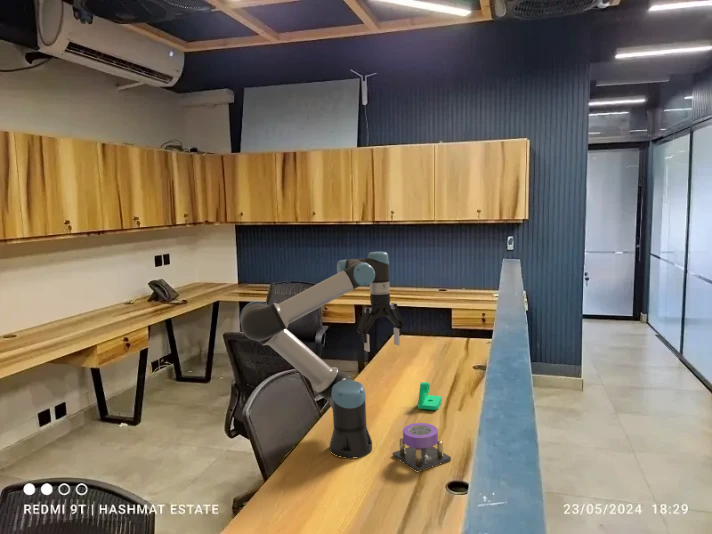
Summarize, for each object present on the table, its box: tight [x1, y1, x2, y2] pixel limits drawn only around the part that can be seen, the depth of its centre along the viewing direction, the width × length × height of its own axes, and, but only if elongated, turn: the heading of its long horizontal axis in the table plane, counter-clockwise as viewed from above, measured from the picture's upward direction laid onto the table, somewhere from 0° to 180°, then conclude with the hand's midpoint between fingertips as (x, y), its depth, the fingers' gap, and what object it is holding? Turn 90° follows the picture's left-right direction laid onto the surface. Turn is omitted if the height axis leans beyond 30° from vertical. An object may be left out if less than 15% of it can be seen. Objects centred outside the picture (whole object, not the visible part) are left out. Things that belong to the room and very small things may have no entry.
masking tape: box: [402, 422, 439, 448], centre depth 179 cm, size 12×12×4 cm
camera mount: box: [417, 381, 443, 411], centre depth 226 cm, size 12×8×10 cm, turn 158°
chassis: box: [392, 437, 452, 472], centre depth 180 cm, size 14×14×6 cm
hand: (382, 347), depth 203 cm, fingers open, 13 cm apart
